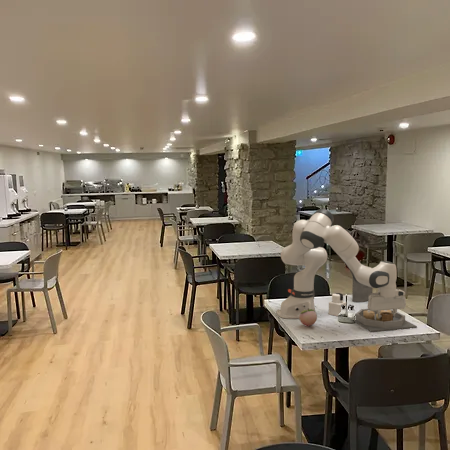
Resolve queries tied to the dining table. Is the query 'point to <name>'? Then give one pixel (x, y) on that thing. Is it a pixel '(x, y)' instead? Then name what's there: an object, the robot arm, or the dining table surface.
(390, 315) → the planet gear
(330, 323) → the dining table surface
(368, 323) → the grey octagonal tray
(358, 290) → the flask
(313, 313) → the decorative fruit
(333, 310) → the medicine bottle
